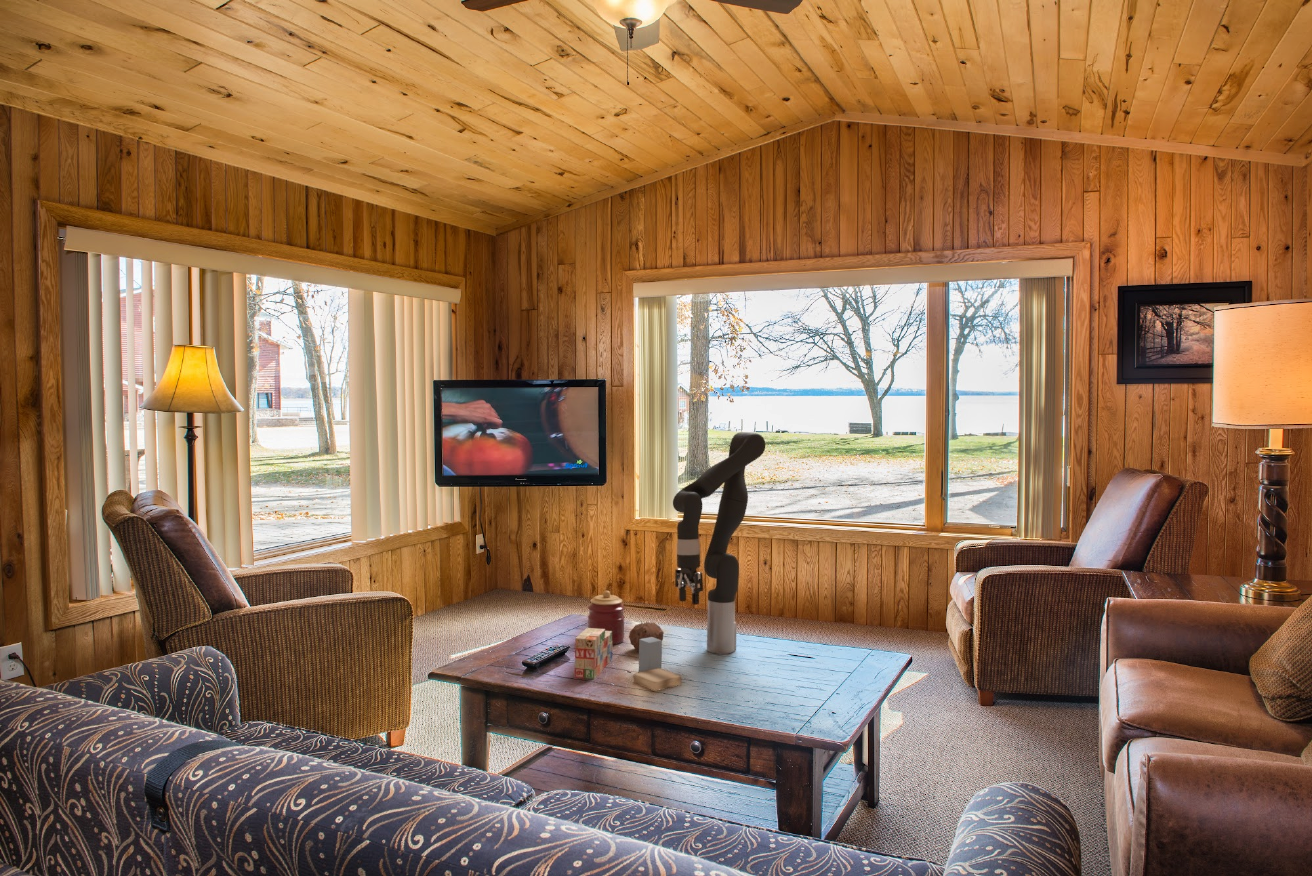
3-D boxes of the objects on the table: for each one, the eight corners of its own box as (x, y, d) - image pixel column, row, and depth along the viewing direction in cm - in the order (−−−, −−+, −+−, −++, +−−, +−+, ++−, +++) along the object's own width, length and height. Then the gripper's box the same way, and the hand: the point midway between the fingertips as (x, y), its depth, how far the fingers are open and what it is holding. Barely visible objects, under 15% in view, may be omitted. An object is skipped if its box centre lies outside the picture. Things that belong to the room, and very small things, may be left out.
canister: (609, 647, 283) (610, 596, 283) (579, 641, 290) (580, 591, 290) (631, 639, 294) (632, 590, 294) (602, 633, 301) (602, 585, 301)
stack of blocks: (593, 658, 272) (594, 620, 271) (612, 659, 270) (613, 621, 270) (574, 678, 251) (575, 637, 250) (594, 679, 249) (595, 638, 249)
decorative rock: (649, 658, 272) (650, 628, 272) (621, 652, 278) (621, 622, 278) (670, 649, 283) (670, 620, 283) (642, 643, 289) (643, 615, 289)
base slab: (660, 677, 254) (660, 667, 254) (681, 686, 246) (681, 676, 246) (633, 683, 247) (633, 673, 247) (654, 692, 240) (654, 682, 240)
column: (651, 668, 261) (652, 636, 261) (661, 672, 257) (662, 640, 257) (638, 671, 258) (639, 639, 258) (648, 675, 254) (649, 642, 254)
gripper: (709, 554, 268) (710, 604, 267) (687, 550, 280) (688, 599, 280) (689, 555, 264) (689, 606, 264) (667, 551, 277) (668, 600, 276)
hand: (689, 602), depth 272 cm, fingers open, 8 cm apart
